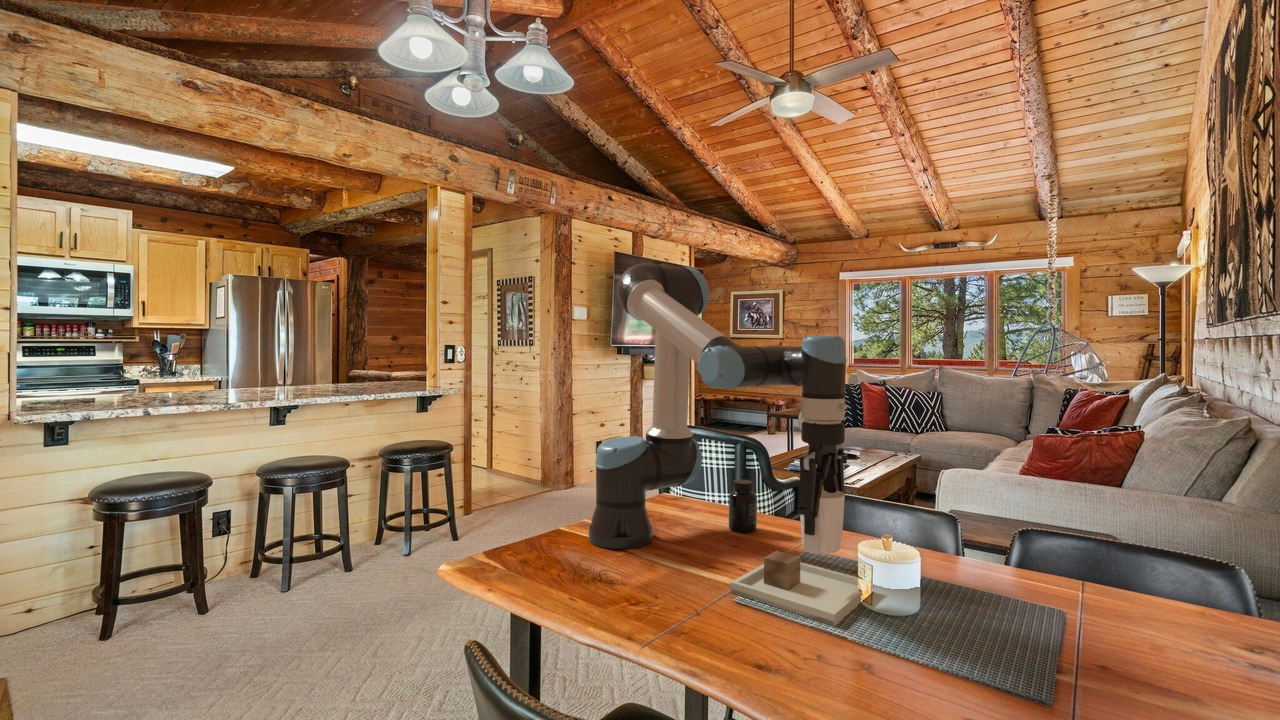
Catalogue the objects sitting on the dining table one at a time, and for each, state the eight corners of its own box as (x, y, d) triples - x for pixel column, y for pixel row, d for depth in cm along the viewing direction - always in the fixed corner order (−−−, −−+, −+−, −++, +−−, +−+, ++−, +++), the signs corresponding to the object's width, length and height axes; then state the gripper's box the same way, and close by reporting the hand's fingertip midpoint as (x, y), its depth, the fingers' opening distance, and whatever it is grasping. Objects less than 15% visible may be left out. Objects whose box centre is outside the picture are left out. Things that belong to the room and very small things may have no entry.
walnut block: (763, 583, 116) (764, 557, 116) (776, 575, 120) (776, 550, 120) (787, 590, 113) (788, 564, 112) (800, 582, 116) (800, 556, 116)
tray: (730, 592, 114) (730, 582, 113) (777, 565, 127) (777, 556, 127) (834, 626, 100) (834, 614, 100) (873, 592, 114) (874, 581, 114)
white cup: (849, 555, 107) (850, 498, 107) (804, 554, 107) (805, 498, 107) (836, 540, 115) (837, 487, 115) (794, 540, 115) (795, 487, 115)
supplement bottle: (753, 525, 155) (753, 478, 154) (759, 534, 148) (760, 484, 147) (726, 525, 154) (726, 478, 154) (731, 534, 147) (732, 485, 147)
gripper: (818, 429, 100) (816, 566, 101) (864, 417, 116) (863, 536, 116) (777, 424, 105) (775, 556, 106) (826, 414, 121) (825, 528, 121)
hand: (821, 545), depth 111 cm, fingers closed on white cup, 7 cm apart
